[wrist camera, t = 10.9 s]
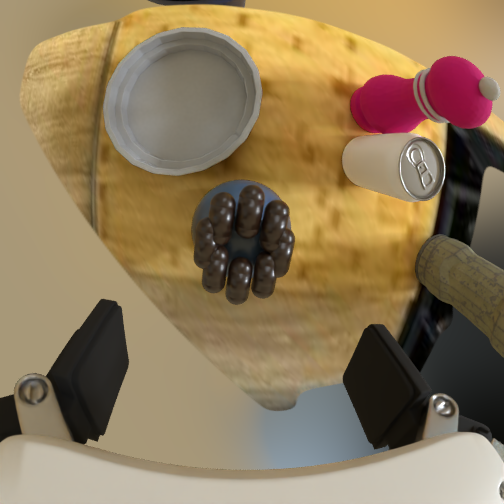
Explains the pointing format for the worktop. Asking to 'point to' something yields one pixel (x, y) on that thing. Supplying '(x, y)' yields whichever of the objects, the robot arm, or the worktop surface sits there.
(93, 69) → the worktop surface
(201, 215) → the ball stand
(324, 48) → the worktop surface
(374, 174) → the can
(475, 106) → the pepper mill
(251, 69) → the bowl
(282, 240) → the chocolate capsule cluster
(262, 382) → the worktop surface
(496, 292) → the moai statue figurine
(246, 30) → the worktop surface
